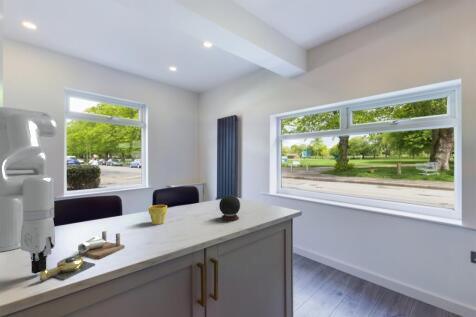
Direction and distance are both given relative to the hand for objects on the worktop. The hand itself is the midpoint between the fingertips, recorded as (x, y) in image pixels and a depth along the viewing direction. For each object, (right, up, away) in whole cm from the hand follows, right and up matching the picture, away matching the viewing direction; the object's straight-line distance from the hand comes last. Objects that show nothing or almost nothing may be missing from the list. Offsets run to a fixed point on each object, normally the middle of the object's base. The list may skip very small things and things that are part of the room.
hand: (39, 271), depth 71 cm
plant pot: (+17, -2, +58) cm, 60 cm away
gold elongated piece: (+7, 0, +1) cm, 7 cm away
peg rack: (+9, -1, +19) cm, 21 cm away
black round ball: (+59, -2, +66) cm, 89 cm away
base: (+7, -1, +4) cm, 8 cm away
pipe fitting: (+6, 0, +18) cm, 19 cm away
